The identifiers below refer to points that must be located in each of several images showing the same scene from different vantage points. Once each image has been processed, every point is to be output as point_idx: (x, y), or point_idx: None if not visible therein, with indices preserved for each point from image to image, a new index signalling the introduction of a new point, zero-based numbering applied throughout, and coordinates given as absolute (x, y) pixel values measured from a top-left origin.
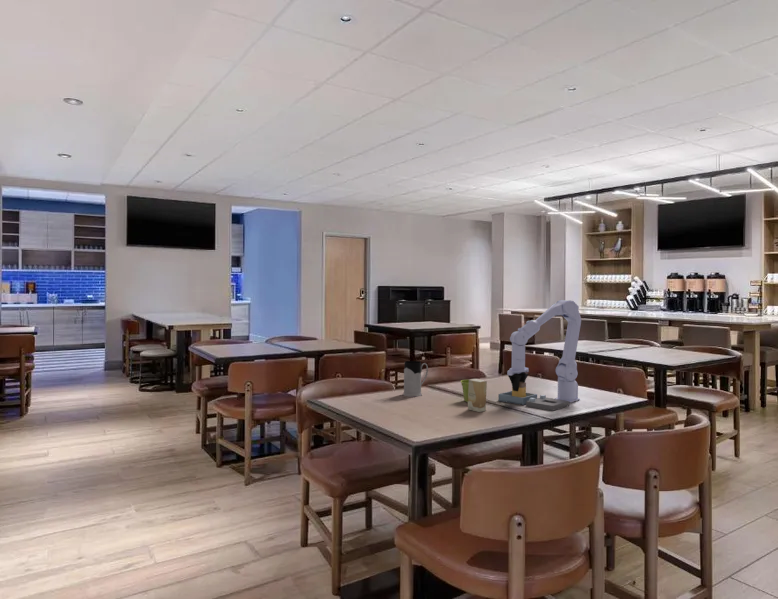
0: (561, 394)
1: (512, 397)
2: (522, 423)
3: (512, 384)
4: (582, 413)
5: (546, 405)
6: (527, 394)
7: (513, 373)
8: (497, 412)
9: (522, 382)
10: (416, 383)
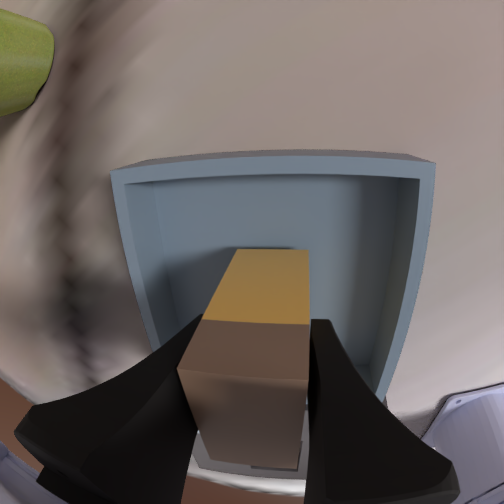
0: (444, 447)
1: (146, 314)
2: (33, 398)
3: (157, 360)
4: (255, 489)
5: (193, 454)
6: (389, 333)
7: (55, 501)
8: (12, 316)
9: (262, 454)
10: None
